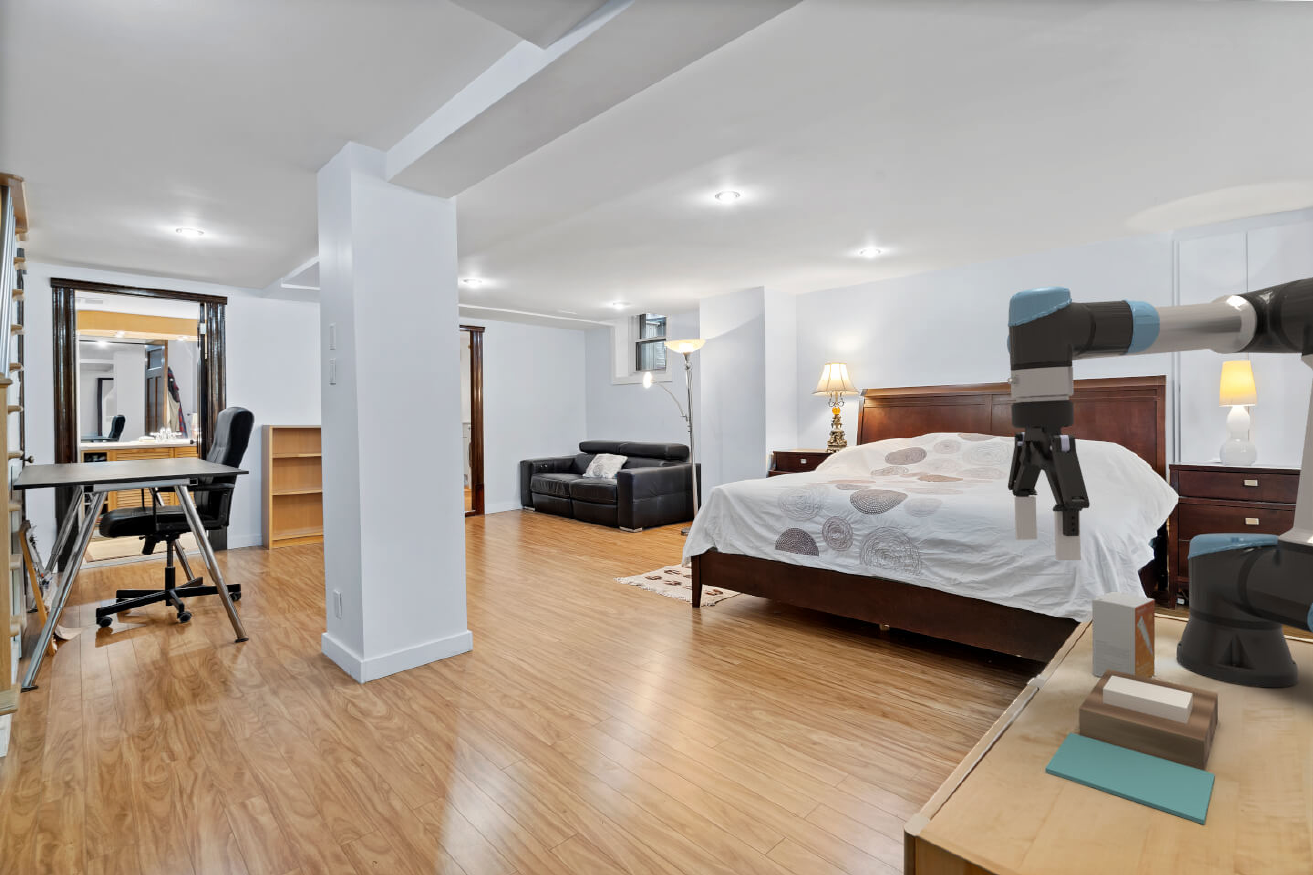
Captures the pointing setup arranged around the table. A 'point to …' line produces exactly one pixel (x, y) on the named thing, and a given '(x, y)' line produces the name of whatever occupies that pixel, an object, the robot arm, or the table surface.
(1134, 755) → the teal mat
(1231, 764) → the table surface
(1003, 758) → the table surface
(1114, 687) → the tile
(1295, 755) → the table surface
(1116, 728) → the board
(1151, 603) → the small box
